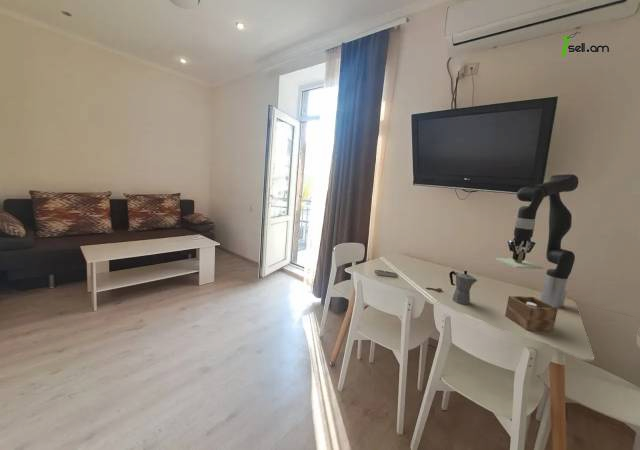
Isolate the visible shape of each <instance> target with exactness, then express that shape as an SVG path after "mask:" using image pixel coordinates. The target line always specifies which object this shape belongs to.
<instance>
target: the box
mask: <svg viewBox="0 0 640 450" xmlns="http://www.w3.org/2000/svg"><path fill="white" fill-rule="evenodd" d="M527 302H532V303H535V304H536V305H537V307H530V306H528V305H527V304H526V303H527ZM558 310H559V308H556V307H552V306H550V305H548V304H546V303H544V302H542V301H541V299H538V298H536V297H535V296H523V295H522V296H519V295H508V298H507V304H506V310H505V313H504V317H505V318H507V319H509V320H511V321H512V322H514V323H515V324H517V326H520V327H521V328H522V329H523V330H525V331H532V332H533V331H535V332H542V331H543V332H554V327H555V324H556V319H557V314H558Z"/></svg>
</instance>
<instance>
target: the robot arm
mask: <svg viewBox="0 0 640 450" xmlns="http://www.w3.org/2000/svg"><path fill="white" fill-rule="evenodd" d="M578 186H579V177H578V176H577V175H575V174H573V173H569V174H554V175H552V176H550V177H549V180H548V181H547V182H543V183H539V184H536V185H529V186H523V187H521V188H520V189H519V190H518V191H517V193H516V198H517V199H518V200H519V201H521V202H528V203H530V204H528V205H522V206H520V207H519V208H518V210H517V211H518V212H517V218H516V221H515V226H514V229H513V236H514V237H513V238H512V240H507V245H508V248H509V252H511V253H512V259H513V260H515V261H517V260H518V255H519V254H518V253H519V251H524V253H523V258H522V261H525V259H526V255H527V254H529V253H531V252H532V250H533V248H534V247H535V246H536V242H535V241H532V240H531V238H533V236H534V230H535V224H536V216H537V211H538V210H539V207H540V206H541V203H542V202H543V200H544V199H545V198H546V197H548V200H549V214H548V215H549V216H548V241H547V247H546V253H545V254H546V260H547V261H548V262H549V263H551V264H555V265H556V267H555V268H548V269H547V270H546V274H545V278H544V283H543V288H542V292H541V296H540V297H541V298H540V301H542V302H544V303H546V304H548V305H550V306H552V307H554V308H556V309H559V308H562V307H564V303H565V300H566V295H567V291H566V288H567V283H568V279H569V277H570V275H571V273H572V270H573V267H574V264H575V260H576V256H575V253H574V252H573V251H570V250H567V249H564V248H562V247H561V246H562V240H563V238H564V237H565V236H566V235H567V233H568V232H570V230H571V228H572V218H573V217H572V213H571V212H570V210H569V209H568V208H567V206H566V205H565V204H564V202H563V201H562V200H561V195H560V193H564V192H566V193H567V192H573V191H575V190H576V189H577V188H578Z"/></svg>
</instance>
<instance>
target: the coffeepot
mask: <svg viewBox="0 0 640 450" xmlns="http://www.w3.org/2000/svg"><path fill="white" fill-rule="evenodd" d="M448 275H449V280H450V285H452V286H456V288H455V291H454V293H453V296H452V301H453V302H455V303H457V304H460V305H464V306H465V305H466V306H467V305H470V303H471V295H470V294H471V292H470V291H471V288H472V286H473V285H474V284H475V283H476V282H478V280H477V278H475V277H474V276H472V275H470V274H468V271H467V270H463V273H461V272H460V273H459V272H457V271H455V270H454V271H453V270H452V271H450V272H449V274H448ZM453 275H454V276H455V283H454V279H453Z"/></svg>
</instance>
